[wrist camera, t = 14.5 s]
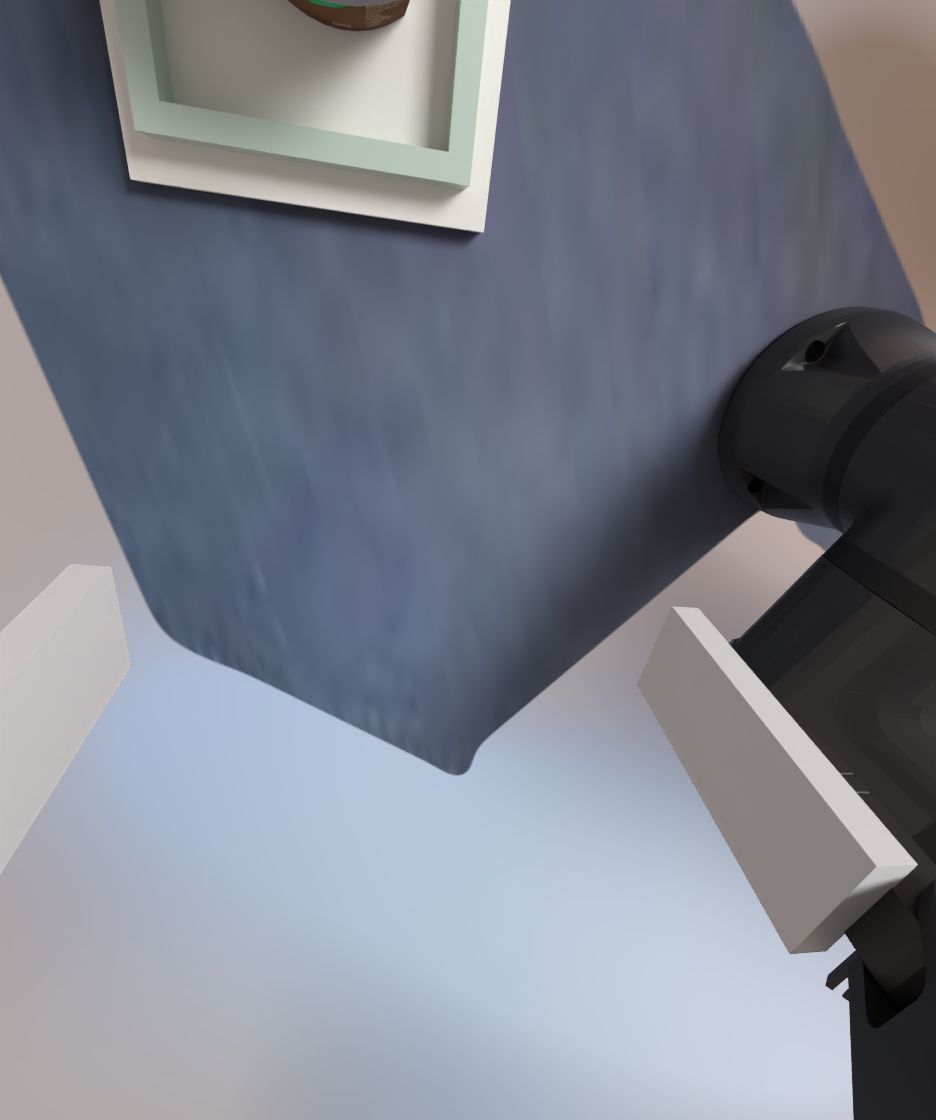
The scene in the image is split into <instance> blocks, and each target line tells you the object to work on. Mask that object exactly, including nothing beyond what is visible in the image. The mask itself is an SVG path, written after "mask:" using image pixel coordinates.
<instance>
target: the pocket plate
mask: <svg viewBox="0 0 936 1120" xmlns="http://www.w3.org/2000/svg"><path fill="white" fill-rule="evenodd" d="M100 6H101V12H102V18H103V24H104V29H105V35H106V41H107V47H108V53H109V58H110V64H111V70H112V76H113V82H114V88H115V93H116V99H117V105H118V111H119V117H120V122H121V128H122V134H123V140H124V146H125V151H126V157H127V163H128V169H129V175H130V179H131V180H135V181H139V182H144V183H151V184H158V185H164V186H171V187H178V188H184V189H191V190H198V191H204V192H211V193H218V194H224V195H231V196H238V197H244V198H251V199H258V200H264V201H271V202H278V203H284V204H291V205H298V206H304V207H311V208H318V209H324V210H331V211H338V212H344V213H351V214H358V215H364V216H371V217H378V218H384V219H391V220H398V221H404V222H411V223H418V224H424V225H431V226H438V227H444V228H451V229H458V230H464V231H471V232H478V233H483V232H484V226H485V217H486V208H487V200H488V191H489V182H490V174H491V165H492V156H493V148H494V139H495V130H496V122H497V113H498V104H499V96H500V87H501V78H502V70H503V61H504V52H505V44H506V35H507V26H508V17H509V9H510V0H410V2H409V5H408V7H407V10H406V13H405V16H403V17H402V18H400V19H398V20H396V21H395V22H393V23H391V24H389V25H387V26H384V27H380V28H377V29H374V30H366V31H349V30H340V29H337V28H334V27H331V26H328V25H325V24H322V23H320V22H318V21H317V20H315V19H313V18H311V17H309V16H307V15H306V14H304V13H303V12H302V11H301V10H299V9H298V8H297V7H295V6H294V5H293V4H291V3H290V2H289V1H288V0H100Z"/></svg>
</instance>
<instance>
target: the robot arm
mask: <svg viewBox="0 0 936 1120" xmlns="http://www.w3.org/2000/svg"><path fill="white" fill-rule="evenodd" d="M719 454H720V462H721V467H722V470H723V473H724V475H725V478H726V480H727V482H728V483H729V485H730V486H731V488H732V489H733V490H734V491H735V492H736V493H737V494H738V495H739V496H740V497H742V498H743V499H744V500H746V501H747V502H749V503H750V504H752V505H753V506H754V507H756V508H757V509H759V510H761V511H763V512H765V513H767V514H770V515H772V516H775V517H778V518H782V519H787V520H792V521H797V522H802V523H807V524H811V525H816V526H821V527H826V528H831V529H836V530H838V531H840V532H841V533H843V535H842V536H841V537H840V538H839V539H838V540H837V541H836V542H835V543H834V544H833V545H832V546H831V547H830V548H829V549H828V550H827V551H826V552H825V553H824V554H823V555H821V557H819V558H818V559H817V560H816V561H815V562H814V563H813V564H812V566H810V567H809V569H808V570H807V571H806V572H805V573H804V574H803V575H802V576H801V577H800V578H799V579H798V580H797V581H796V582H795V583H794V584H793V585H792V586H791V587H790V588H789V589H788V590H787V591H786V592H785V593H784V594H783V595H782V596H781V597H780V598H779V599H778V600H777V601H776V602H775V603H774V604H773V605H772V606H771V607H770V608H769V609H768V610H767V611H766V613H764V615H762V616H761V618H759V620H757V621H756V622H755V624H753V625H752V626H751V627H750V628H749V629H748V630H747V631H746V632H745V633H744V634H743V635H742V636H741V637H740V638H737V639H733V640H732V641H730V642H729V643H728V642H727V641H726V640H725V639H724V638H723V636H722V635H721V634H720V633H719V632H718V631H717V629H716V628H715V627H714V626H713V625H712V624H711V622H710V621H709V620H708V619H707V618H706V617H705V615H703V613H702V612H701V611H700V610H699V609H698V608H687V607H674V606H673V607H672V608H671V610H670V613H669V615H668V617H667V619H666V622H665V624H664V626H663V628H662V630H661V633H660V635H659V637H658V639H657V642H656V644H655V646H654V648H653V650H652V653H651V655H650V657H649V659H648V661H647V664H646V666H645V668H644V670H643V673H642V675H641V677H640V679H639V682H638V684H637V685H638V686H639V688H640V690H641V692H642V694H643V695H644V697H645V699H646V700H647V703H648V704H649V706H650V708H651V709H652V711H653V713H654V715H655V717H656V718H657V720H658V722H659V724H660V726H661V727H662V729H663V731H664V733H665V734H666V736H667V738H668V740H669V741H670V743H671V745H672V747H673V748H674V750H675V752H676V754H677V756H678V757H679V759H680V761H681V763H682V764H683V766H684V768H685V770H686V771H687V773H688V775H689V777H690V778H691V780H692V782H693V784H694V785H695V787H696V789H697V791H698V793H699V795H700V796H701V798H702V800H703V802H704V803H705V805H706V807H707V809H708V810H709V812H710V814H711V816H712V818H713V819H714V821H715V823H716V825H717V826H718V828H719V830H720V832H721V833H722V835H723V837H724V839H725V841H726V842H727V844H728V846H729V847H730V849H731V851H732V853H733V855H734V856H735V858H736V860H737V862H738V863H739V865H740V867H741V869H742V871H743V872H744V874H745V876H746V878H747V879H748V881H749V883H750V885H751V887H752V888H753V890H754V892H755V893H756V895H757V897H758V899H759V901H760V902H761V904H762V906H763V908H764V910H765V911H766V913H767V915H768V917H769V918H770V920H771V922H772V924H773V925H774V927H775V929H776V931H777V933H778V934H779V936H780V938H781V940H782V941H783V943H784V945H785V947H786V948H787V950H788V952H789V954H797V953H809V952H822V951H827V950H828V949H829V948H830V947H831V946H832V945H833V944H834V943H835V942H836V941H837V940H839V939H840V938H841V937H842V936H843V935H844V934H846V936H847V937H848V939H849V940H850V942H851V943H852V945H853V946H854V948H855V949H856V951H854V952H853V953H852V954H851V955H850V956H849V957H848V958H847V959H846V960H844V961H843V962H842V963H841V964H840V965H839V966H838V967H837V968H835V969H834V970H833V971H832V972H831V973H830V974H829V975H828V978H827V981H826V985H825V986H827V987H829V988H830V989H831V990H833V989H834V988H835V987H837V986H838V985H839V984H840V983H841V982H842V981H843V980H845V979H846V978H848V983H849V989H847V990H846V991H845V993H844V994H843V996H842V997H844V998H845V999H846V1000H848V1001H849V1009H850V1036H851V1061H852V1086H853V1087H852V1088H853V1112H854V1113H853V1114H854V1120H936V333H935V332H933V331H932V330H930V329H929V328H927V327H926V326H925V325H923V324H922V323H920V322H919V321H917V320H916V319H914V318H912V317H909V316H907V315H904V314H902V313H898V312H895V311H890V310H883V309H875V308H868V307H846V308H840V309H835V310H831V311H828V312H825V313H822V314H819V315H817V316H814V317H812V318H810V319H808V320H806V321H804V322H802V323H801V324H799V325H797V326H796V327H794V328H793V329H791V330H789V331H788V332H787V333H785V334H784V335H783V336H781V337H780V338H779V339H778V340H776V341H775V342H774V343H773V344H772V345H771V346H770V347H769V348H768V349H766V350H765V352H764V353H763V354H762V355H761V356H760V357H759V358H758V359H757V360H756V361H755V362H754V364H753V365H752V366H751V367H750V369H749V370H748V371H747V373H746V374H745V376H744V377H743V379H742V380H741V382H740V383H739V385H738V387H737V389H736V390H735V392H734V394H733V396H732V398H731V400H730V403H729V405H728V407H727V410H726V413H725V416H724V419H723V423H722V427H721V433H720V442H719ZM130 667H131V662H130V657H129V652H128V647H127V642H126V638H125V632H124V627H123V623H122V618H121V613H120V608H119V603H118V598H117V593H116V589H115V583H114V579H113V574H112V569H111V567H104V566H89V565H74V564H70V565H69V566H68V567H67V568H66V569H65V570H64V571H63V572H62V573H61V574H60V575H59V576H58V577H56V578H55V579H54V581H52V582H51V584H49V585H48V587H46V588H45V589H44V590H43V591H42V592H41V593H40V594H39V595H38V596H37V597H36V598H35V599H34V600H33V601H32V602H31V603H30V604H29V605H28V606H27V607H26V608H25V609H24V610H23V611H22V612H21V613H20V614H19V615H18V616H17V617H16V618H15V619H13V620H12V622H10V624H8V625H7V627H5V628H4V629H3V630H2V631H1V632H0V874H1V873H2V871H3V869H4V868H5V866H6V865H7V863H8V861H9V860H10V858H11V856H12V855H13V853H14V852H15V850H16V849H17V847H18V846H19V844H20V842H21V841H22V839H23V838H24V836H25V834H26V833H27V831H28V829H29V828H30V826H31V825H32V823H33V822H34V820H35V818H36V817H37V815H38V814H39V812H40V810H41V809H42V807H43V806H44V804H45V803H46V801H47V799H48V798H49V796H50V795H51V793H52V791H53V790H54V788H55V786H56V785H57V783H58V782H59V780H60V779H61V777H62V775H63V774H64V772H65V771H66V769H67V767H68V766H69V764H70V763H71V761H72V759H73V758H74V756H75V755H76V753H77V751H78V750H79V748H80V747H81V745H82V744H83V741H84V740H85V739H86V737H87V736H88V733H89V732H90V731H91V729H92V728H93V726H94V724H95V723H96V721H97V719H98V718H99V716H100V715H101V713H102V712H103V710H104V708H105V707H106V705H107V704H108V702H109V700H110V699H111V697H112V695H113V694H114V692H115V691H116V689H117V688H118V686H119V684H120V683H121V681H122V680H123V678H124V677H125V675H126V673H127V672H128V670H129V669H130Z"/></svg>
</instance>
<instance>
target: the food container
mask: <svg viewBox="0 0 936 1120" xmlns="http://www.w3.org/2000/svg"><path fill="white" fill-rule="evenodd" d="M288 1H289V2H290V3H291V4H293V5H294V6H295V7H297V8H298V9H299V10H301V11H302V12H303V13H304V14H306V15H307V16H309V17H311V18H313V19H315V20H317V21H318V22H320V23H322V24H325V25H328V26H331V27H334V28H337V29H340V30H349V31H366V30H374V29H377V28H380V27H384V26H387V25H389V24H391V23H393V22H395V21H396V20H398V19H400V18H402V17H403V16H405V13H406V10H407V7H408V5H409V2H410V0H288Z"/></svg>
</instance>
